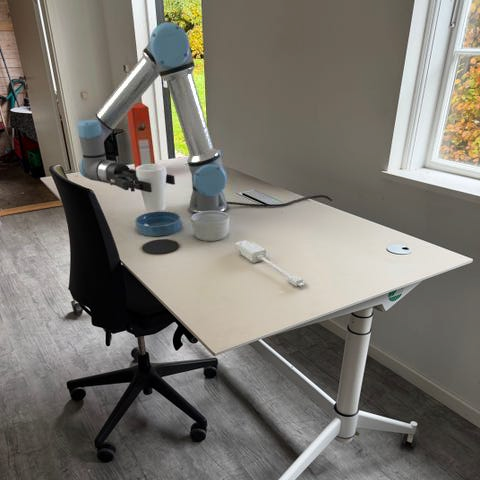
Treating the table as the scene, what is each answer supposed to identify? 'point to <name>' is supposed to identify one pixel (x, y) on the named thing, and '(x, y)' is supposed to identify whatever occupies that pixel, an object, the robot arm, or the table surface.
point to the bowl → (158, 223)
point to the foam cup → (153, 185)
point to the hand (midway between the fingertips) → (162, 183)
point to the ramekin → (210, 225)
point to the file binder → (141, 135)
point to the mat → (160, 246)
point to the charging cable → (258, 254)
